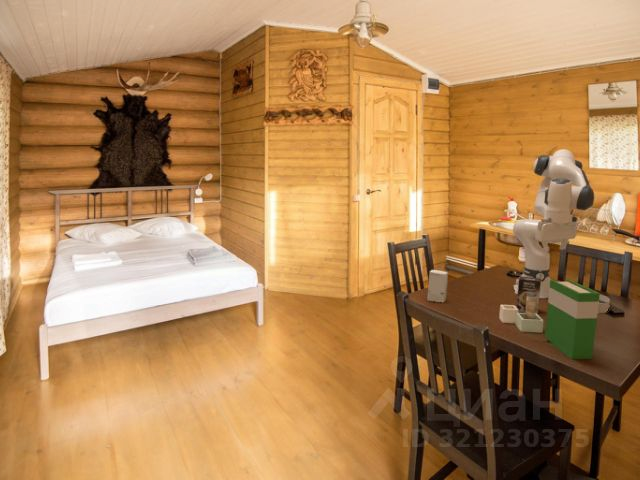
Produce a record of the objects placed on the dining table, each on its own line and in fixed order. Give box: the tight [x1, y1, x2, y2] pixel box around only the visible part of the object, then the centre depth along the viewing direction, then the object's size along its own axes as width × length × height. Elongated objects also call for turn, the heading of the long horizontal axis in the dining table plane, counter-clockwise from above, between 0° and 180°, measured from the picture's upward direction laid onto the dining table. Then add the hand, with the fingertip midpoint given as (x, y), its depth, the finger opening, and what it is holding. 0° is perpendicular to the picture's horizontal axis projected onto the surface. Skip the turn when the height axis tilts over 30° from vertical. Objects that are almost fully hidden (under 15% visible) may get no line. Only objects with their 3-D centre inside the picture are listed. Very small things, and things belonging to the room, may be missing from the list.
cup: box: [498, 304, 519, 324], centre depth 190 cm, size 6×6×7 cm
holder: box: [515, 312, 545, 334], centre depth 181 cm, size 8×8×6 cm
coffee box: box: [515, 275, 541, 315], centre depth 202 cm, size 9×6×16 cm
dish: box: [598, 293, 611, 314], centre depth 212 cm, size 22×22×5 cm
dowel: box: [524, 292, 537, 320], centre depth 180 cm, size 4×4×15 cm
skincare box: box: [426, 269, 449, 304], centre depth 219 cm, size 8×6×15 cm
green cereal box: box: [544, 279, 601, 360], centre depth 163 cm, size 18×7×24 cm, turn 3°
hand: (554, 250), depth 188 cm, fingers open, 8 cm apart
